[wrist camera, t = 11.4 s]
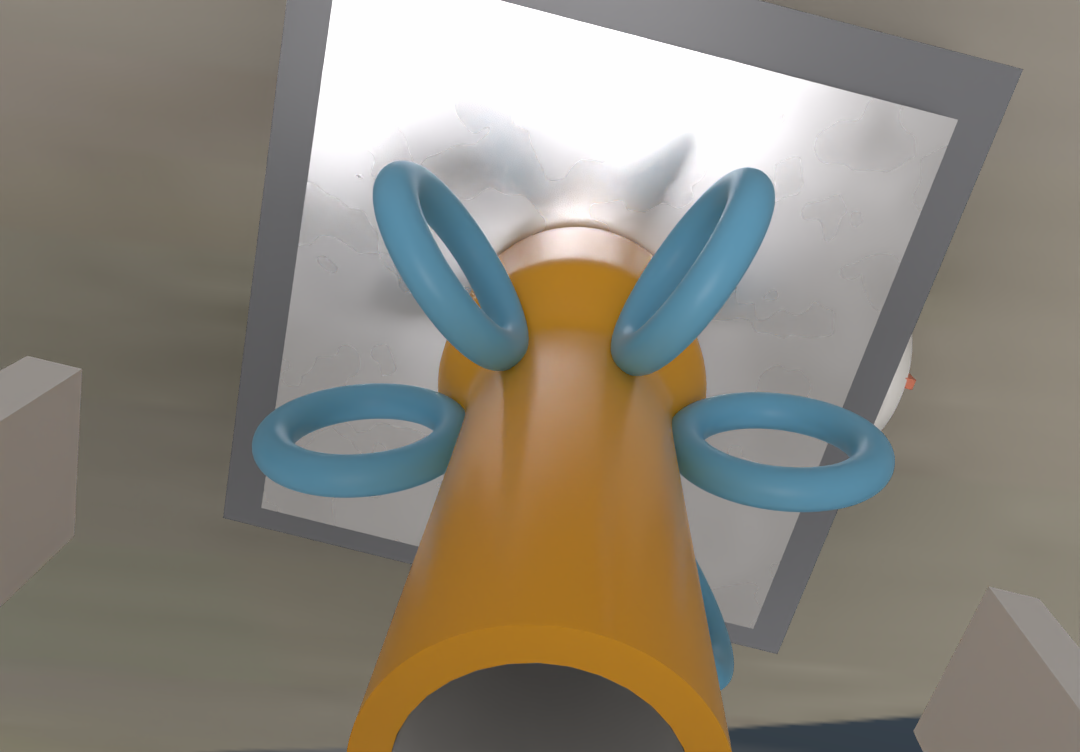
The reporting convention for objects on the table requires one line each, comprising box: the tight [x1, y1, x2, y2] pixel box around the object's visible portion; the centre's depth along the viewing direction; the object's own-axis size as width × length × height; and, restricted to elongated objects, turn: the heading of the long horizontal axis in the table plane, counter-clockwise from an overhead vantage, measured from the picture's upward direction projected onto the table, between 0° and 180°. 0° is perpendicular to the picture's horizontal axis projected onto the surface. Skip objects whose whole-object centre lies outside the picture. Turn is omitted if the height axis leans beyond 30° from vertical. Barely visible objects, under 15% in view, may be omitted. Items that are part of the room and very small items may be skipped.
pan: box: [261, 0, 958, 629], centre depth 25 cm, size 15×15×5 cm
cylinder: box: [252, 161, 895, 752], centre depth 16 cm, size 12×10×15 cm
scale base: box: [223, 0, 1023, 654], centre depth 26 cm, size 19×18×5 cm
